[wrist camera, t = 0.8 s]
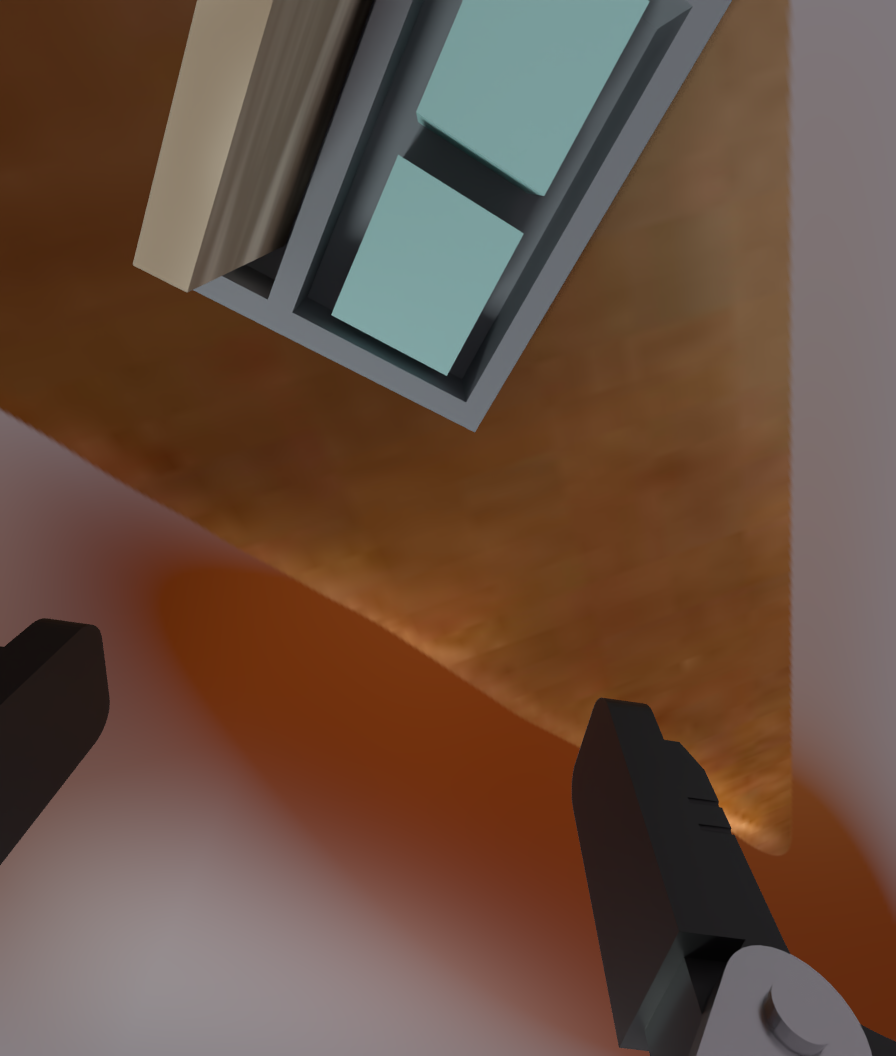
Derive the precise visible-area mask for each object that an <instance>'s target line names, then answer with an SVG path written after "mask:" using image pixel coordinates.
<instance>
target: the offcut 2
mask: <svg viewBox="0 0 896 1056" xmlns="http://www.w3.org/2000/svg"><path fill="white" fill-rule="evenodd" d="M649 2H650V1H648V0H463V1H462V4H461V6H460V8H459V11H458V13H457V16H456V18H455V20H454V23H453V25H452V27H451V30H450V32H449V35H448V37H447V39H446V42H445V44H444V47H443V49H442V51H441V54H440V56H439V59H438V61H437V63H436V66H435V68H434V70H433V73H432V75H431V78H430V80H429V82H428V85H427V87H426V90H425V92H424V94H423V97H422V99H421V102H420V104H419V106H418V109H417V111H416V114H417V119H418V122H419V123H420V124H422V125H423V126H425V127H426V128H428V129H429V130H431V131H432V132H434V133H435V134H437V135H438V136H440V137H442V138H443V139H445V140H446V141H448V142H449V143H451V144H452V145H454V146H455V147H457V148H458V149H460V150H461V151H463V152H465V153H466V154H468V155H469V156H471V157H472V158H474V159H475V160H477V161H478V162H480V163H481V164H483V165H485V166H486V167H488V168H489V169H491V170H492V171H494V172H495V173H497V174H498V175H500V176H501V177H503V178H504V179H506V180H508V181H509V182H511V183H512V184H514V185H515V186H517V187H518V188H520V189H521V190H523V191H524V192H526V193H529V194H535V195H542V196H545V194H546V192H547V190H548V188H549V186H550V185H551V183H552V181H553V179H554V177H555V175H556V173H557V172H558V170H559V168H560V166H561V164H562V162H563V161H564V159H565V157H566V155H567V153H568V151H569V149H570V148H571V146H572V144H573V142H574V140H575V138H576V137H577V135H578V133H579V131H580V129H581V127H582V125H583V124H584V122H585V120H586V118H587V116H588V114H589V113H590V111H591V109H592V107H593V105H594V103H595V102H596V100H597V98H598V96H599V94H600V92H601V90H602V89H603V87H604V85H605V83H606V81H607V79H608V78H609V76H610V74H611V72H612V70H613V68H614V66H615V65H616V63H617V61H618V59H619V57H620V55H621V54H622V52H623V50H624V48H625V46H626V44H627V42H628V41H629V39H630V37H631V35H632V33H633V31H634V30H635V28H636V26H637V24H638V22H639V20H640V18H641V17H642V15H643V13H644V11H645V9H646V7H647V6H648V4H649Z"/></svg>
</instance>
